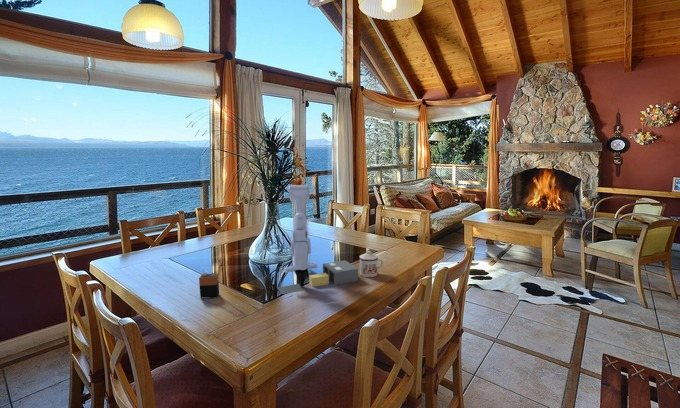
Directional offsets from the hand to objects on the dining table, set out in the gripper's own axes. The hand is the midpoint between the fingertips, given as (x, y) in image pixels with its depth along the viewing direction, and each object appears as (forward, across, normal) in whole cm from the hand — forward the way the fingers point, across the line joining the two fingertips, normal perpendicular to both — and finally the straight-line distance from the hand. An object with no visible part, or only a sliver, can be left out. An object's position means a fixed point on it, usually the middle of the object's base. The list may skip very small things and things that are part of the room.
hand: (301, 285), depth 153 cm
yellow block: (+1, +8, 0) cm, 8 cm away
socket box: (+1, +20, +3) cm, 21 cm away
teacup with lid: (+1, +36, +1) cm, 36 cm away
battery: (+1, -38, +8) cm, 39 cm away
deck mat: (+1, -5, 0) cm, 5 cm away
